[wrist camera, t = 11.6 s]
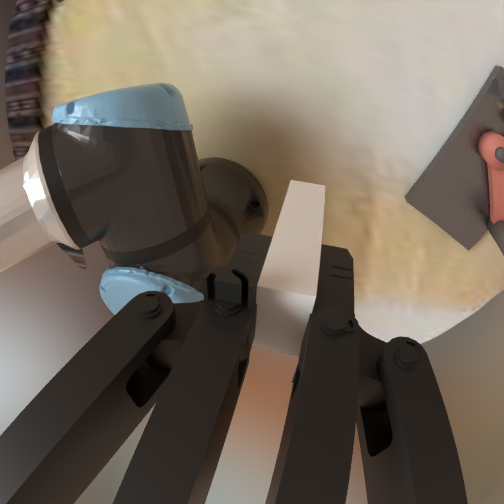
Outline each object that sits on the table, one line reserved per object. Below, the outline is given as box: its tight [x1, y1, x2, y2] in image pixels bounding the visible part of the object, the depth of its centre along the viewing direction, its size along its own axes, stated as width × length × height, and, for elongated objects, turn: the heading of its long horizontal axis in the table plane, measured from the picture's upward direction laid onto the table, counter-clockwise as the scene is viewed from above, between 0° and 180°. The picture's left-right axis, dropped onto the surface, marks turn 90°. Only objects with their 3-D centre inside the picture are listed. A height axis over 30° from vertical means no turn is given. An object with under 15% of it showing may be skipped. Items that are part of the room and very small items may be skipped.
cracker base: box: [405, 66, 504, 251], centre depth 28 cm, size 26×14×6 cm, turn 156°
